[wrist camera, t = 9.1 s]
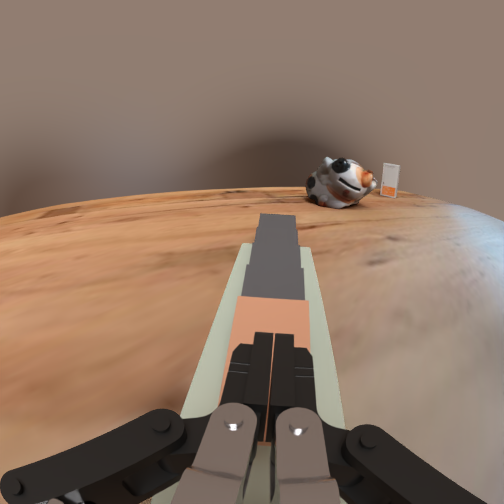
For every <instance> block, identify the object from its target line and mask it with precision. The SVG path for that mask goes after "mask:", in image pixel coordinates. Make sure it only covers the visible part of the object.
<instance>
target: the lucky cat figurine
mask: <svg viewBox="0 0 504 504" xmlns="http://www.w3.org/2000/svg"><path fill="white" fill-rule="evenodd" d="M376 185H377V180H376V179H375V178H373V172H372V171H370V170H364V169H363V167H362V166H361V165H360V164H358V163H356V162H355V161H353V160H347V159H345V158H339V159H335V160H331V159H330V158H328V157H326V158H325V159H324V160H323V162H322V164H321V165H320V166H319V168H318V169H317V171H316V172H314V173H312V174H310V176H309V177H308V179H307V181H306V191H307V194H308V196H309V198H310V199H313V200H315V202H316V204H317V205H319V206H323V207H329V208H335V209H340V208H342V207H344V206H349V205H351V204H357V203H359V200H360V199H362V198H363V197H364V196H366V195H367V194H369V193H370V192H371V191H372V190H373V189H374V188H375V187H376Z"/></svg>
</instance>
